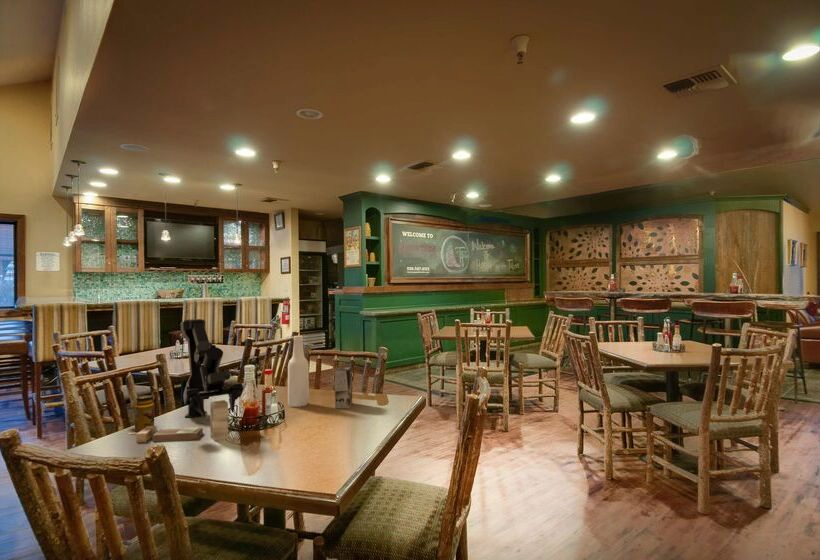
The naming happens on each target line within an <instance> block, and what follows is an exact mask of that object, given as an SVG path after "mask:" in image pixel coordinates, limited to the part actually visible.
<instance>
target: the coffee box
mask: <svg viewBox="0 0 820 560" xmlns="http://www.w3.org/2000/svg"><path fill="white" fill-rule="evenodd" d="M334 374H335V375H334V408H335V409H350V408H349V407H351V406H352V405H353V366H339V367H337V368H336V369H335V370H334ZM350 405H351V406H350Z"/></svg>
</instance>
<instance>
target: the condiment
mask: <svg viewBox="0 0 820 560" xmlns="http://www.w3.org/2000/svg"><path fill="white" fill-rule="evenodd" d="M147 426H156V425H155V403H154V396H153V395H152V394H151V395H150V394H146V395H140V396H137V397H136V402H135V406H134V427H129V428H127V435H136V434H137V433H138V432H140V431H141V430H143V429H144V428H146V427H147Z"/></svg>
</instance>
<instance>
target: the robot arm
mask: <svg viewBox="0 0 820 560" xmlns="http://www.w3.org/2000/svg"><path fill="white" fill-rule="evenodd" d="M180 332H182V337H183V338H184V339H185V341H187V351H188V353H187V354H188V364H189V378H188V380H187V381H186V385H185V388H184V391H183V394H182V395H183V402H184V406H187V414H186V415H184V418H196V417H197V418H199V417H200V418H202V417H203V418H206V414H207V413H208V412H207V411H206V410H205V400H209V398H210V397H212V398H213V397H219V396H225V395H228V404H229V406H230V411H231V413H234V410H235V405H236V400H238V398H241V396H242V394H243V392H244V389H245V388H244V387H245V386H244V385H243V383H242V382H236V383H231V384H230V385H229V388H224V386H225V382H226V381H229V380H230V379H231V372H230V369H226V370H225V369H224V370H223V371H220V372H219V367H220V365H221V361H222V359H223V356H224V351H223V350H222V349H221V348H219V347H217V346H216V344H213V343H211V342H210V340H209V337H208V334H207V331H206V320H204V319H202V318H193V319H184V320H183V321H181V322H180Z"/></svg>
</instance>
